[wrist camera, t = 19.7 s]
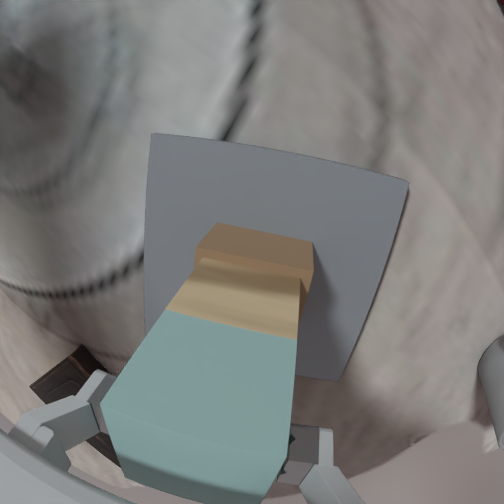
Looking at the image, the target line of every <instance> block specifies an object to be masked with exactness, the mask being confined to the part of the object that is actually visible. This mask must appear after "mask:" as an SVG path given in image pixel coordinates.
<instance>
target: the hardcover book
mask: <svg viewBox="0 0 504 504" xmlns="http://www.w3.org/2000/svg"><path fill="white" fill-rule="evenodd" d="M97 369H99V370H101V371H104V372H106V373H109V372H108V371H107V370H106V369H105V368H104V367H103V366H102V365H101V364H100V363H99V362H98V361H97V360H96V359H95V358H94V357H93V356H92V354H91V353H90V352H89V351H88V350H87V349H86V348H85V347H84V346H83V345H82V344H81V345H80V346H79V347H78V348H77V350H76V351H75V352H74V353H72V354H71V355H70V356H68V357H67V358H66V359H64V360H63V361H62V362H60V363H59V364H58V365H56V366H55V367H54V368H52V369H51V370H50V371H48V372H47V373H46V374H44V375H43V376H42V377H41V378H39V379H38V380H37V381H35V382H34V383H33V384H31V385H30V386H29V387H30V388H31V389H32V390H33V391H34V392H35V393H36V395H37V396H38V397H39V398H40V399H41V400H42V401H43V402H44V403H45V404H46V405H47V404H50V403H53V402H55V401H58V400H61V399H63V398H66V397H69V396H71V395H73V396H76V395H77V393H78V392H79V391H80V389H81V388H82V387H83V385H84V384H85V383H86V381H87V380H88V379H89V378H90V376H91V375H92V374H93V372H94V371H96V370H97ZM109 374H110V373H109ZM85 441H87V442H88V443H89V444H90V445H91V446H93V447H94V448H95V449H96V450H98V451H99V452H100V453H101V454H103V455H104V456H105V457H107V458H108V459H109V460H111V461H112V462H113V463H115V464H116V465H117V466H119V467H120V468H121V466H120V463H119V460H118V458H117V455H116V452H115V449H114V447H113V444H112V441H111V438H110V435H108V434H106V433H103V432H101V431H100V432H99V433H98V434H96V435H94V436H92V437H91V438H89V439H87V440H85ZM121 469H122V468H121Z"/></svg>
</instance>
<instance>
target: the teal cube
mask: <svg viewBox="0 0 504 504" xmlns="http://www.w3.org/2000/svg"><path fill="white" fill-rule="evenodd" d="M296 350H297V340H296V339H291V338H286V337H281V336H276V335H271V334H266V333H261V332H257V331H252V330H248V329H243V328H239V327H234V326H230V325H226V324H221V323H217V322H213V321H209V320H205V319H201V318H197V317H193V316H189V315H185V314H181V313H178V312H174V311H170V310H166V309H165V310H164V312H163V313H162V315H161V316H160V317H159V319H158V320H157V322H156V323H155V324H154V326H153V327H152V329H151V330H150V331H149V333H148V334H147V336H146V337H145V339H144V340H143V341H142V343H141V344H140V346H139V347H138V349H137V350H136V351H135V353H134V354H133V356H132V357H131V359H130V360H129V362H128V363H127V364H126V366H125V367H124V369H123V370H122V372H121V373H120V375H119V376H118V378H117V379H116V380H115V382H114V383H113V385H112V386H111V388H110V389H109V391H108V392H107V394H106V395H105V397H104V398H103V400H102V401H101V403H100V406H101V410H102V413H103V416H104V420H105V423H106V426H107V429H108V432H109V435H110V438H111V441H112V444H113V447H114V449H115V452H116V455H117V458H118V460H119V463H120V466H121V468H122V471H123V473H124V476H125V478H128V479H130V480H133V481H135V482H138V483H141V484H143V485H146V486H149V487H152V488H154V489H157V490H160V491H164V492H166V493H170V494H173V495H176V496H179V497H183V498H186V499H190V500H193V501H197V502H201V503H204V504H260V503H261V502H262V500H263V498H264V497H265V495H266V493H267V492H268V490H269V488H270V486H271V485H272V483H273V481H274V479H275V477H276V476H277V474H278V472H279V470H280V468H281V467H282V465H283V463H284V461H285V459H286V457H287V449H288V440H289V430H290V421H291V410H292V400H293V388H294V376H295V363H296Z"/></svg>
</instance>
